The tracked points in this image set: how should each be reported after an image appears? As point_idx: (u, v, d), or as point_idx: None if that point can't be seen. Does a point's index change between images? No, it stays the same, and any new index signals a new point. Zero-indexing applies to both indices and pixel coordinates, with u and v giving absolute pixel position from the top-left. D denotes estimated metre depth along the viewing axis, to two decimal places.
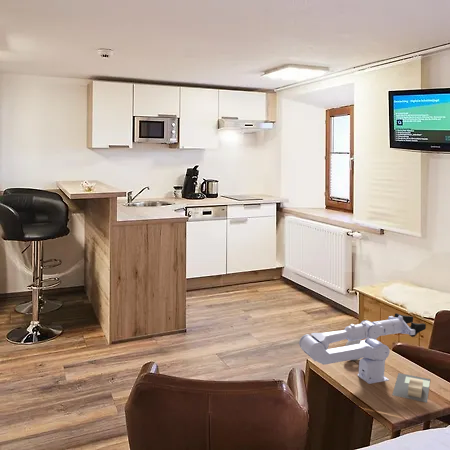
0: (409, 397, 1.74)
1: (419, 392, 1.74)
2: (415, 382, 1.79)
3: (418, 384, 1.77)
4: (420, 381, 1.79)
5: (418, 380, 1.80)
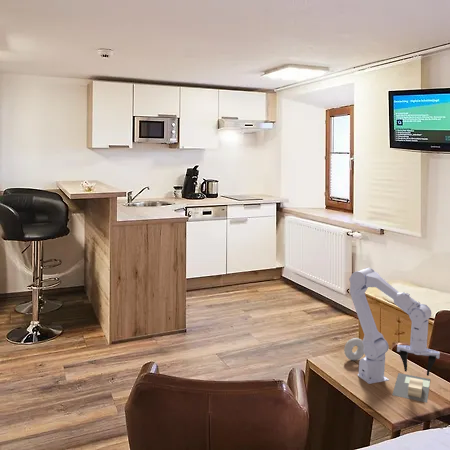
0: (409, 397, 1.74)
1: (419, 392, 1.74)
2: (415, 382, 1.79)
3: (418, 384, 1.77)
4: (420, 381, 1.79)
5: (418, 380, 1.80)
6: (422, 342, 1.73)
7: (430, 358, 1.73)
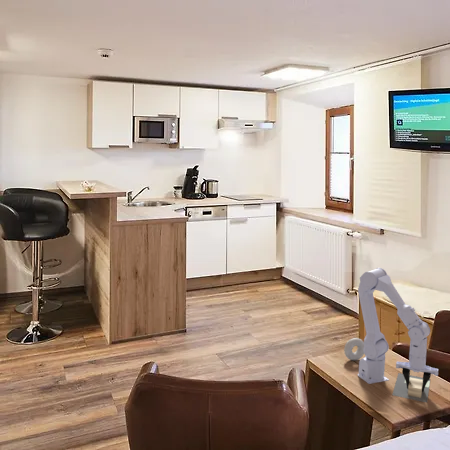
0: (409, 397, 1.74)
1: (419, 392, 1.74)
2: (415, 382, 1.79)
3: (418, 384, 1.77)
4: (420, 381, 1.79)
5: (418, 380, 1.80)
6: (421, 359, 1.74)
7: (429, 375, 1.74)
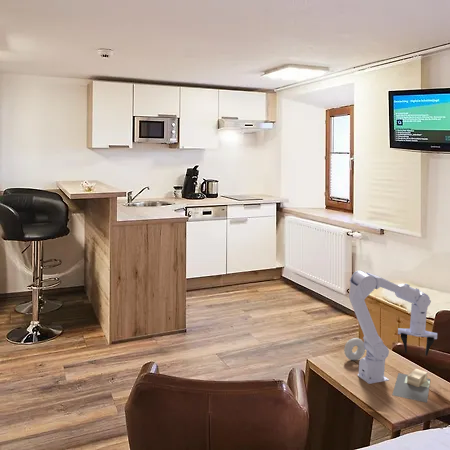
0: (409, 397, 1.74)
1: (417, 381, 1.82)
2: (418, 372, 1.86)
3: (419, 375, 1.84)
4: (423, 373, 1.86)
5: (422, 372, 1.87)
6: (422, 324, 1.87)
7: (429, 339, 1.87)
